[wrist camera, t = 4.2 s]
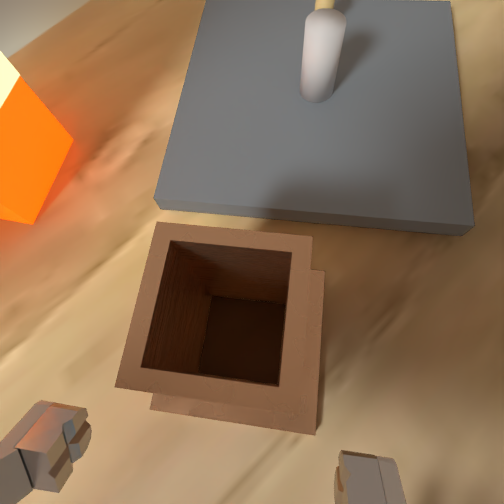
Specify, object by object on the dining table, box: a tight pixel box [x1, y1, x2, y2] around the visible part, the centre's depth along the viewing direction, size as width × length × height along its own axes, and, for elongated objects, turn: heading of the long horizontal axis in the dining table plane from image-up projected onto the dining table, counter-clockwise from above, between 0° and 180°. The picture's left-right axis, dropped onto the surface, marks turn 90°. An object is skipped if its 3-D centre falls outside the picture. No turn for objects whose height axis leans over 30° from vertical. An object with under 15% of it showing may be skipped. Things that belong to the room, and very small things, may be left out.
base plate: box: [154, 0, 475, 236], centre depth 23 cm, size 20×20×6 cm
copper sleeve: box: [115, 222, 325, 435], centre depth 16 cm, size 9×9×9 cm
